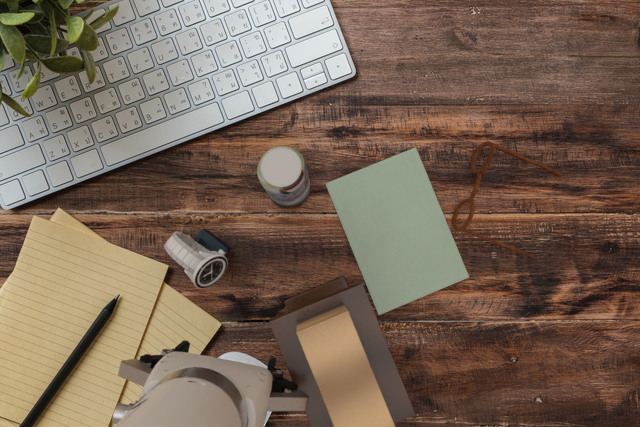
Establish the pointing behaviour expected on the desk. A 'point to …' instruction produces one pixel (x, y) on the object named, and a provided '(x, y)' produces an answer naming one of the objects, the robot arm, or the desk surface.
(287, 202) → the beverage can
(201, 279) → the watch
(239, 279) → the desk surface
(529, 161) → the glasses
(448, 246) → the mat
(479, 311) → the desk surface
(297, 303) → the pedestal
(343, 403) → the tan wooden block
